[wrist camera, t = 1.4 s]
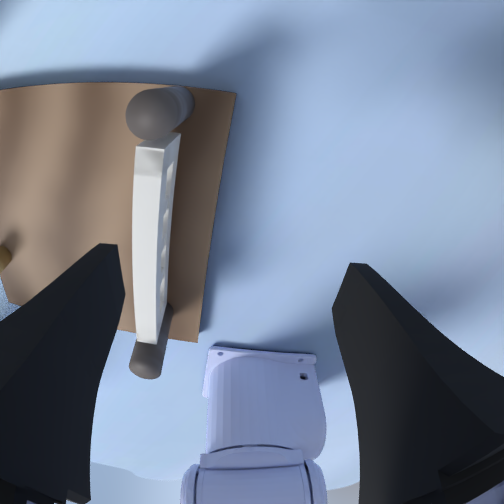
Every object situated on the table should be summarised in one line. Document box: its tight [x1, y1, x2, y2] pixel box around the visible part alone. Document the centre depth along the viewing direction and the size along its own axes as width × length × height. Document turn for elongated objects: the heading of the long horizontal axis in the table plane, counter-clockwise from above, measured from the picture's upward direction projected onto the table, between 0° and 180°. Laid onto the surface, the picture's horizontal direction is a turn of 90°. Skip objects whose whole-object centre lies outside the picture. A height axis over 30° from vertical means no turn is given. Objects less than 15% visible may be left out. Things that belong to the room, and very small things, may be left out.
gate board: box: [0, 82, 237, 379], centre depth 16 cm, size 18×18×6 cm
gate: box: [132, 132, 181, 345], centre depth 16 cm, size 11×1×4 cm, turn 169°
